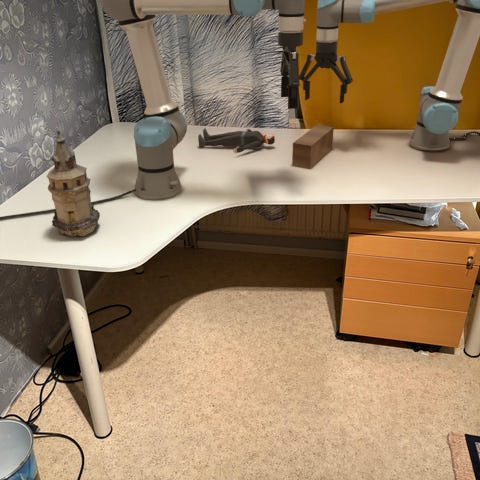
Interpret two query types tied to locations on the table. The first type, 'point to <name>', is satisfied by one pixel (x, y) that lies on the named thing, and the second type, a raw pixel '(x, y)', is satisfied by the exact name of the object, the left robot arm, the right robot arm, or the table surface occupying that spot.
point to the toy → (236, 139)
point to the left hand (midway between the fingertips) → (288, 102)
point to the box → (312, 146)
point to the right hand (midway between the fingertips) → (324, 100)
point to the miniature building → (70, 193)
